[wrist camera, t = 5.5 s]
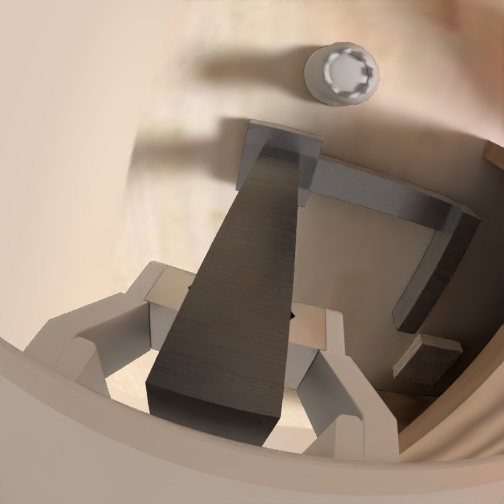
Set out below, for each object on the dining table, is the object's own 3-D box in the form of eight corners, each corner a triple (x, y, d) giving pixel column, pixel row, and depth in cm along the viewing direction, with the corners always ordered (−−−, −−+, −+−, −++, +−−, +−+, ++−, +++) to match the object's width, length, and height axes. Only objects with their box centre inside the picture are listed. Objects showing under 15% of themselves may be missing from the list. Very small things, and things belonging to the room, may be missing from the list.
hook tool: (222, 271, 28) (142, 490, 11) (252, 119, 21) (67, 308, 4) (409, 316, 28) (448, 511, 11) (474, 192, 20) (622, 383, 4)
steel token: (392, 365, 32) (394, 378, 30) (418, 330, 29) (422, 343, 27) (430, 371, 32) (433, 384, 30) (458, 339, 29) (463, 352, 27)
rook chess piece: (369, 52, 17) (399, 38, 10) (363, 110, 19) (390, 127, 13) (305, 42, 18) (302, 21, 11) (301, 101, 20) (296, 112, 13)
